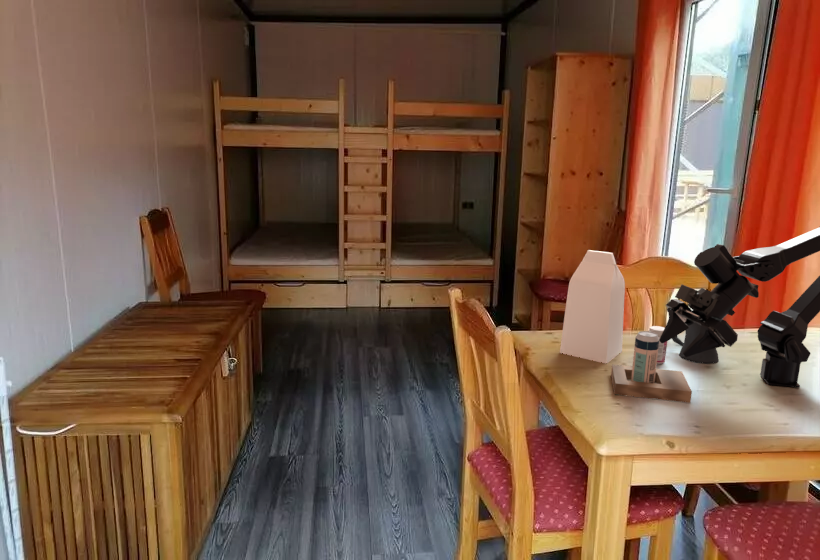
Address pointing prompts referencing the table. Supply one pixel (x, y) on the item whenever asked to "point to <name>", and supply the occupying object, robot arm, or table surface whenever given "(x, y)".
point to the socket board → (651, 385)
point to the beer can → (645, 357)
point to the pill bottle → (662, 346)
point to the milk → (594, 309)
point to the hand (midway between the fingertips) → (671, 348)
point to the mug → (690, 335)
